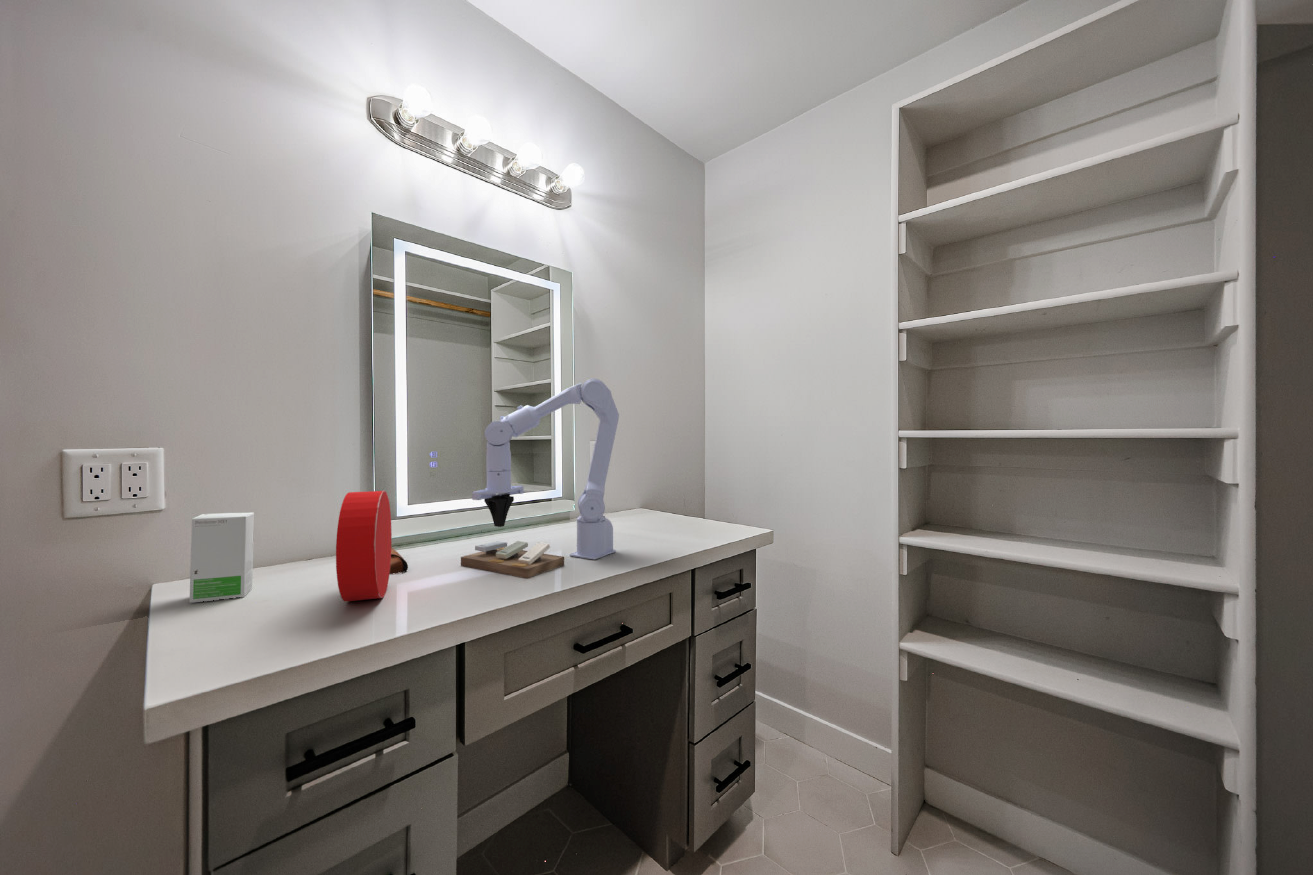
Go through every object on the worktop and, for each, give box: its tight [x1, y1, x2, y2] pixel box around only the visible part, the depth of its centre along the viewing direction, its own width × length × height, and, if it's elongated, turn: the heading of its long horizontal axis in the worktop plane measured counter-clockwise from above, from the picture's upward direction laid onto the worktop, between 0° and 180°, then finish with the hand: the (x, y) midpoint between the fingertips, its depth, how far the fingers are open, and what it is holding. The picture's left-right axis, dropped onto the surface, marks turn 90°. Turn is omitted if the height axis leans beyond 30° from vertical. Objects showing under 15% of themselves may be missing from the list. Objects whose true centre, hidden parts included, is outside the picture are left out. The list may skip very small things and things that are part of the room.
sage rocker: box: [496, 540, 529, 559], centre depth 118 cm, size 7×3×1 cm, turn 150°
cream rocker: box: [518, 541, 551, 565], centre depth 114 cm, size 7×3×1 cm, turn 150°
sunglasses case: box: [389, 547, 409, 575], centre depth 117 cm, size 18×7×7 cm
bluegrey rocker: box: [474, 540, 508, 552], centre depth 121 cm, size 7×3×1 cm, turn 150°
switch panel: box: [460, 547, 565, 579], centre depth 118 cm, size 12×21×3 cm, turn 60°
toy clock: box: [335, 490, 392, 603], centre depth 95 cm, size 20×6×20 cm, turn 21°
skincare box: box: [189, 512, 255, 604], centre depth 96 cm, size 8×7×16 cm
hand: (499, 526), depth 123 cm, fingers closed
